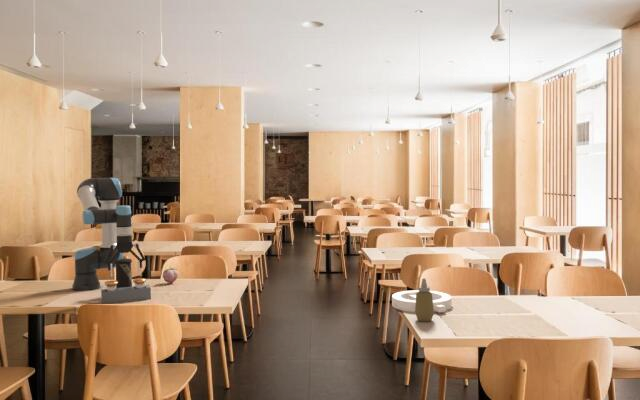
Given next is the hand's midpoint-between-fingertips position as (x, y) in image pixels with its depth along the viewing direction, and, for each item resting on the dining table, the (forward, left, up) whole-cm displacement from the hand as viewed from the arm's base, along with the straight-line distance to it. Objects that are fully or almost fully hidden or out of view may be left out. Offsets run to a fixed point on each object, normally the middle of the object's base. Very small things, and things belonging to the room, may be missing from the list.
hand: (125, 275), depth 283 cm
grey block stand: (0, 0, -13) cm, 13 cm away
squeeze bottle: (+155, +6, -13) cm, 156 cm away
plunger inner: (-5, -5, -10) cm, 12 cm away
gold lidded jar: (+5, +5, -10) cm, 12 cm away
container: (-10, +10, -13) cm, 19 cm away
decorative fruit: (-6, +45, -13) cm, 47 cm away
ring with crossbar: (+149, +33, -13) cm, 153 cm away
